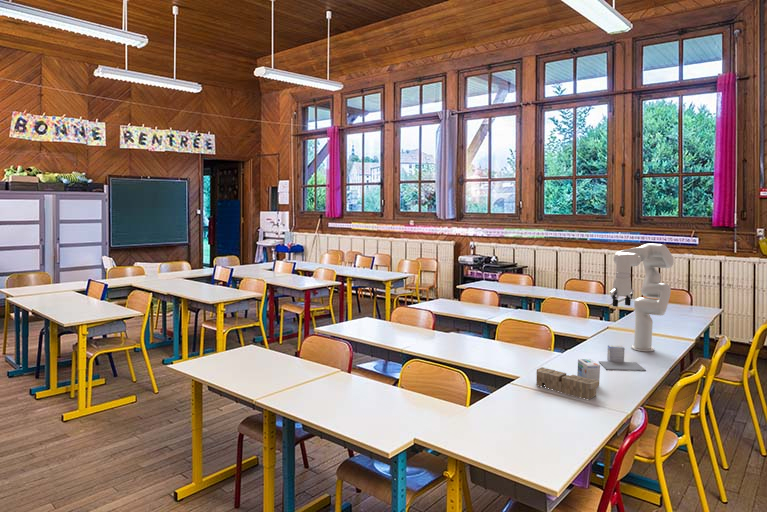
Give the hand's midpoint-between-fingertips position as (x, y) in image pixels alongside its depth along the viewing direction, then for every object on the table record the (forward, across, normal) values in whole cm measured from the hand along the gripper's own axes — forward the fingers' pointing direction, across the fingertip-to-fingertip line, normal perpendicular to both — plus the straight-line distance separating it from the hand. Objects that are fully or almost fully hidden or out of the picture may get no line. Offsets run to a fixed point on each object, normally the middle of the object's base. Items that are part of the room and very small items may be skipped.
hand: (621, 305), depth 301 cm
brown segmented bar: (+33, +65, +26) cm, 77 cm away
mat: (+31, +10, +10) cm, 34 cm away
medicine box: (+31, +5, +2) cm, 32 cm away
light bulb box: (+32, +47, +23) cm, 62 cm away
